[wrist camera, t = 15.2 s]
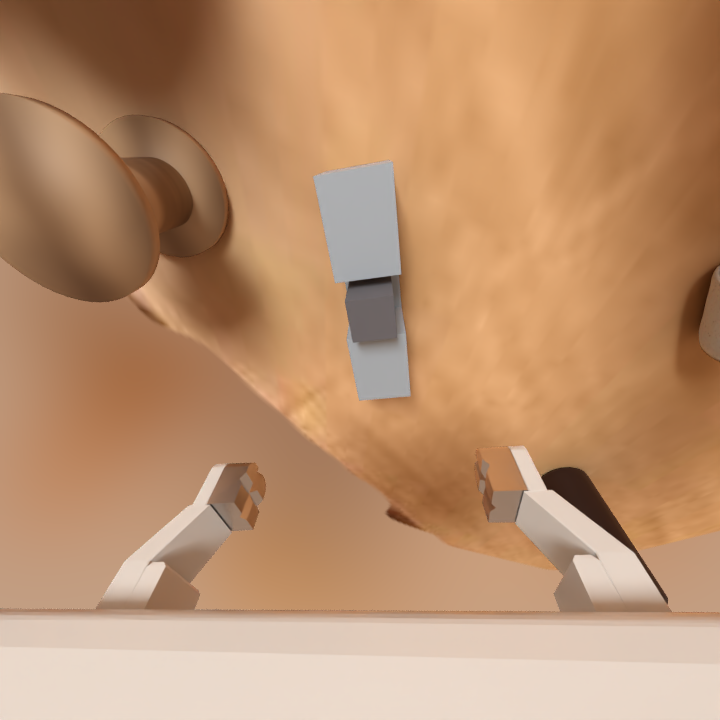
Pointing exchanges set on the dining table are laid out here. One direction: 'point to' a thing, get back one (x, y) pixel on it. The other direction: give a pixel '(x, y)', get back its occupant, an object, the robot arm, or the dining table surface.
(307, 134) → the dining table surface
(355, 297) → the dark gray rectangular block
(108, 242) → the wooden door knob
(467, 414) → the dining table surface
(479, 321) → the dining table surface
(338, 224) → the gray stepped block
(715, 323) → the ceramic mug
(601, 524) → the bottle
